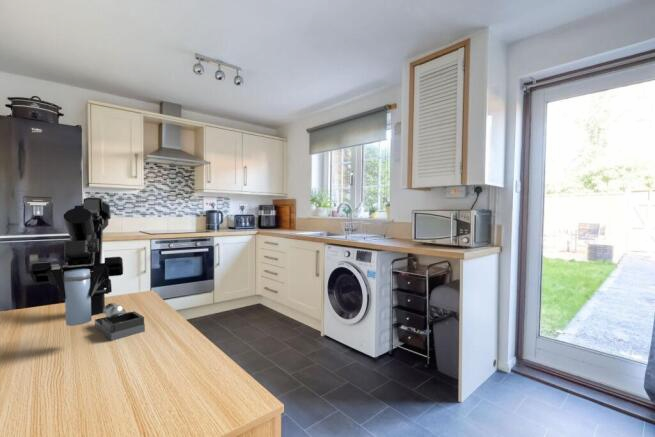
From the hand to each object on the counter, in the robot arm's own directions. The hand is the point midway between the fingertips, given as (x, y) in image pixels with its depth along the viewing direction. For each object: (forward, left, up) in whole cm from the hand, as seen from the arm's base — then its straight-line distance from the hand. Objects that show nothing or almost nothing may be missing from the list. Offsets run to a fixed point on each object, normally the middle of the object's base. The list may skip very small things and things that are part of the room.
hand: (77, 297), depth 76 cm
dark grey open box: (-6, +10, -13) cm, 17 cm away
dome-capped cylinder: (-1, 0, -7) cm, 7 cm away
